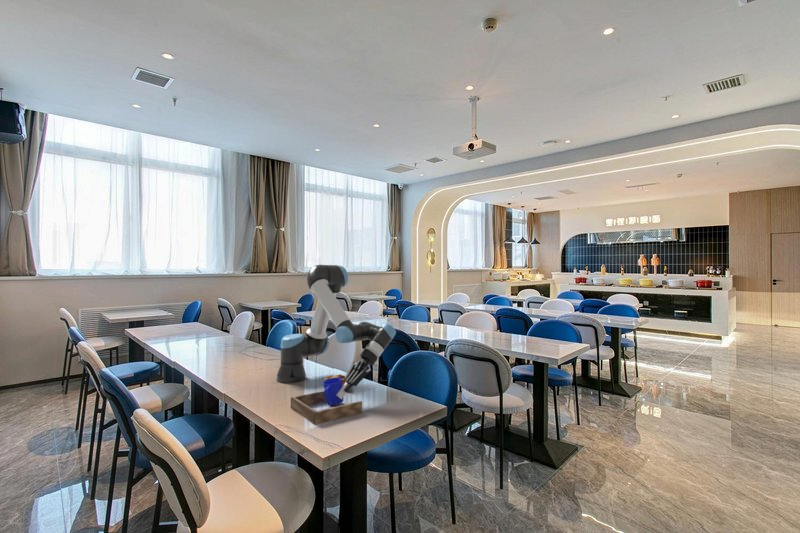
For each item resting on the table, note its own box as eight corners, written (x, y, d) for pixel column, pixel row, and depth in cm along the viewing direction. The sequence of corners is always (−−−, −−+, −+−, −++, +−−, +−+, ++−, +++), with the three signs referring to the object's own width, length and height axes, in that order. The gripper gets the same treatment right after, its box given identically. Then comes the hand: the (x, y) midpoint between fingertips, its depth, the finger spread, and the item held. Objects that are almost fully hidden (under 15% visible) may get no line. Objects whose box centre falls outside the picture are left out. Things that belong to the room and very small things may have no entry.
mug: (319, 411, 158) (315, 388, 158) (330, 399, 170) (327, 378, 170) (338, 410, 157) (334, 386, 156) (348, 398, 168) (344, 376, 168)
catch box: (335, 398, 173) (335, 388, 174) (362, 412, 156) (362, 401, 156) (290, 407, 160) (290, 397, 160) (314, 424, 143) (315, 412, 143)
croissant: (320, 390, 196) (314, 378, 194) (335, 378, 202) (329, 366, 200) (345, 399, 181) (339, 386, 179) (360, 386, 187) (354, 372, 185)
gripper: (384, 360, 169) (352, 406, 158) (368, 356, 179) (336, 398, 168) (375, 350, 166) (341, 395, 155) (359, 345, 176) (326, 388, 165)
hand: (338, 397), depth 162 cm, fingers closed
